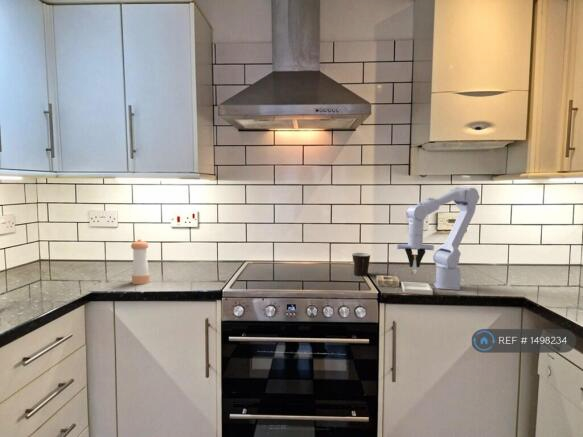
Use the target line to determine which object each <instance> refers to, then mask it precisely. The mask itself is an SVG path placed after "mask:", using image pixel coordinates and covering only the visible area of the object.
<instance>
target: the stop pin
mask: <svg viewBox="0 0 583 437" xmlns="http://www.w3.org/2000/svg"><path fill="white" fill-rule="evenodd" d="M417 263H418V255H417V254H413V253H412V267H410V268H411V269H410V274H412V275H418V267H417Z"/></svg>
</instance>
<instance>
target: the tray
mask: <svg viewBox="0 0 583 437" xmlns="http://www.w3.org/2000/svg"><path fill="white" fill-rule="evenodd" d="M400 288H401V289H402V292H403V294H406V295H408V294H409V295H424V296H433V294H434V293H433V292H434V290H433V288H432V287H431V286H430V284H429V283H428V282H413V281H412V282H411V281H401V282H400Z"/></svg>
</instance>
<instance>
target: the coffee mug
mask: <svg viewBox="0 0 583 437" xmlns="http://www.w3.org/2000/svg"><path fill="white" fill-rule="evenodd" d="M370 260H371V254H370V253H366V252H354V253H352V266H353V275H354V276H357V275H358V276H357V277H366V275H367V276H368V272H369V266H370Z"/></svg>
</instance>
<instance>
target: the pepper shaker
mask: <svg viewBox="0 0 583 437" xmlns="http://www.w3.org/2000/svg"><path fill="white" fill-rule="evenodd" d="M148 247H149V244H148V242H147V241H145V240H144V241H143V240H142V239H137V241H136V240H135V241H134V242H132V243H131V245H130V248H131V249H132V250H133V251H132V252H133V255H132V256H133V257H132V258H133V261H132V268H131V270H132V275H131V284H133V285H144V284H148V283H150V282H151V281H150V280H151V279H150V278H151V277H150V273H149V263H148V262H149V261H148V255H147V253H148V252H147V249H148Z"/></svg>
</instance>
